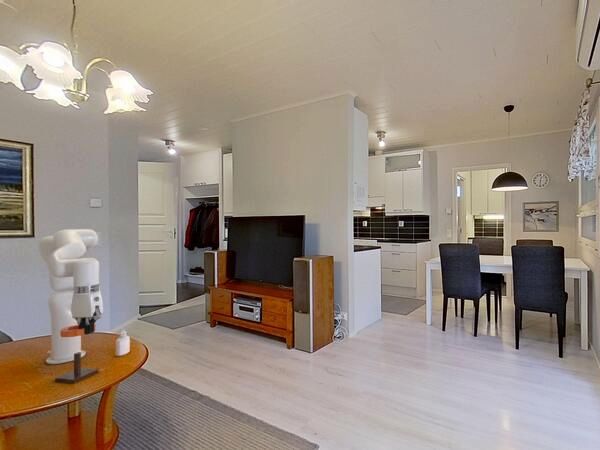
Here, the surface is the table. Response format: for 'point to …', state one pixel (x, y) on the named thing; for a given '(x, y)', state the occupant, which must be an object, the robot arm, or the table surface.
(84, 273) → the robot arm
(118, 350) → the eye dropper bottle
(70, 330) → the ring
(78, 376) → the post
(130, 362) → the table surface
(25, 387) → the table surface
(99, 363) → the table surface
